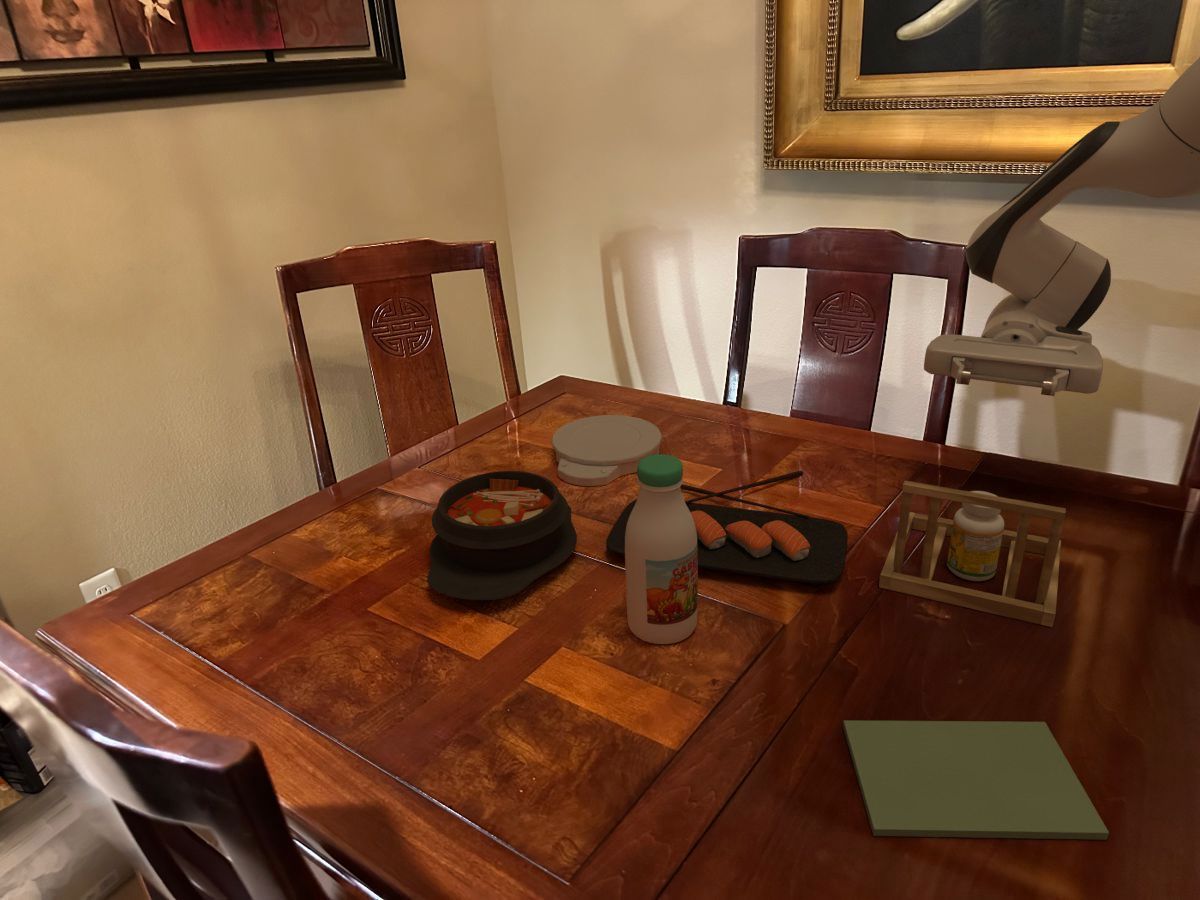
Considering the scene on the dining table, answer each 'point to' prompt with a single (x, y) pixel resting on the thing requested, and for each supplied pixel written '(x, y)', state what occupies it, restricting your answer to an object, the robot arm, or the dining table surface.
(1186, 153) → the robot arm
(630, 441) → the kitchen scale
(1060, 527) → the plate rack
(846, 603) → the dining table surface
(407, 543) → the dining table surface
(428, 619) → the dining table surface
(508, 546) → the casserole
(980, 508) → the supplement bottle
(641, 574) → the milk bottle
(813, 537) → the sushi plate
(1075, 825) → the mat
